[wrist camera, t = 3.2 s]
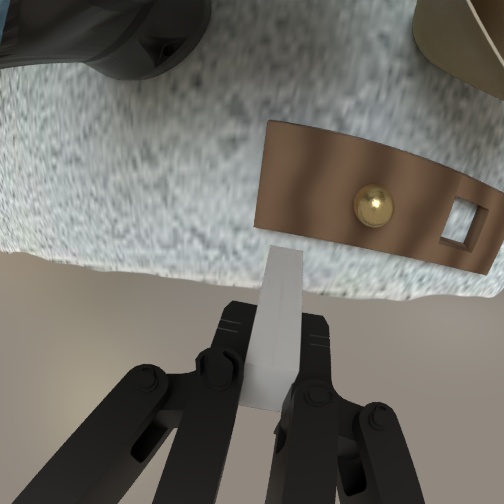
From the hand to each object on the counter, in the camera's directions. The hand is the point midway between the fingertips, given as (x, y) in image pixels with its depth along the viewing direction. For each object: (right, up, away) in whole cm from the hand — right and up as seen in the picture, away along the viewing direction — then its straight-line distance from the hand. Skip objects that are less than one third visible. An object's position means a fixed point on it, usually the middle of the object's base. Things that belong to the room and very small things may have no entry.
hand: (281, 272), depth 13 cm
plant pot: (+19, +23, +3) cm, 30 cm away
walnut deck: (+16, +7, +14) cm, 22 cm away
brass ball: (+10, +5, +10) cm, 15 cm away
